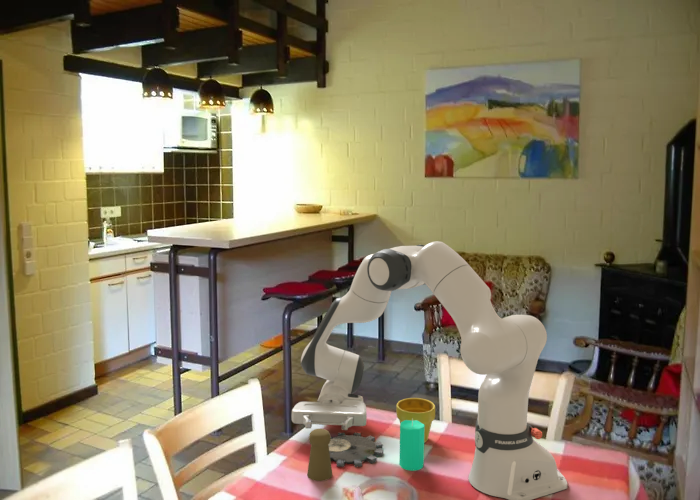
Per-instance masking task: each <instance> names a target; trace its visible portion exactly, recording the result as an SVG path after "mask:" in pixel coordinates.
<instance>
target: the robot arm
mask: <svg viewBox="0 0 700 500" xmlns="http://www.w3.org/2000/svg"><path fill="white" fill-rule="evenodd" d="M423 285H426V286H427V287H428V289H429V290H430V291H431V292H432V294H433V296H434V297H436V299H437V300H438V301H439V303H440V304H441V305H442V306H443V308H444V309H445V310H446V312H447V313H448V314H449V316H451V318H452V320H453V322H454V324H455V325H456V328H457V330H458V333H459V336H460V339H461V343H460V347H459V348H460V350H459V351H460V356H461V359H462V362H463V363H464V364H465V367H467V369H468V370H470V371H471V372H472V373H474V374H478V375H480V376H481V375H485V377H484V380H483V381H482V383H481V384H480V386H479V389H478V395H477V396H478V397H477V398H478V399H477V401H478V403H477V419H476V421H475V427H474V428H475V431H474V446H475V448H474V449H475V450H474V457H473V461H472V464H471V469H470V472H469V474H468V482H469V483H470V485H471V486H473V488H474V489H476V490H477V491H479V492H481V493H483V494H486V495H489V496H491V497H498V498H502V499H506V500H534V499H538V498H542V497H544V496H547V495H551V494H554V493H557V492H561V491H564V490H567V489H568V482H567V478H566V477H565V476H564V474H562V473H561V471H560V470H559V469H558V465H557V462H556V459H555V457H554V456H553V454H552V453H551V452H550V451H548V449H546V448H545V447H544V446H543V445H542V444H540V443H539V442H537V441H536V440H540V439H542V437H543V432H542V431H541V430H540V429H538V428H537V427H534V428H533V426H532V425H531V424H530V423H528V409H529V408H528V407H529V406H528V405H529V396H530V390H531V386H532V383H533V379H534V376H535V372H536V367H537V364H538V360H539V358H540V356H541V353H542V351H543V350H544V348H545V346H546V345H547V339H548V335H547V330H546V327H545V325H544V324H543V322H541V320H539V318H537V317H535V316H533V315H529V314H511V315H509V316H505V317H500V316H499V315H498V314H497V312H496V310H495V308H494V306H493V304H492V301H491V299H492V292H491V291H492V290H491V289H490V287H489V286H488V285H487V284H486V282H485V281H484V280H483V279H482V278H481V277H480V276H479V274H478V273H477V272H476V271H475V270H474V269H473V267H471V265H470V264H469V263H468V262H467V261H466V260H465V259H464V258H463V257H462V256H461V255H460V254H459V253H458V252H457V251H456V250H454V249H453V248H452V247H450V245H448V244H446V243H445V242H443V241H440V240H437V241H435V240H434V241H431V242H429V243H427V244H417V245H400V246H399V245H398V246H394V247H391V248H384V249H381V250H379V251H377V252H375V253H371V254H369V255H367V256H365V257H364V258H363V259H362V262H360V264H359V266H358V268H357V270H356V272H355V274H354V277H353V279H352V282H351V285H350V287H349V290H348V291H347V293H346V294H345V295H343V296H340V297H336V298H335V299H334V300H333V302H332V303H331V304H330V305H329V308H328V309H327V312H325V315H324V316H323V317H322V319H321V322H320V324H319V325H318V327H317V329H316V331H315V333H314V335H313V337H312V339H311V340H310V342H309V343H308V344H307V345H306V346H305V347H304V349H303V351H302V354H301V357H300V366H301V368H302V370H303V371H304V373H305V374H306V375H307V376H308V375H309V376H312V377H318V378H321V379H323V380H326V381H325V382H324V384H323V386H322V388H321V391H320V394H319V396H318V399H317V401H299V402H298V403H296V404H295V405H294V407H292V409H291V422H292V423H293V424H296V425H297V424H299V425H301V424H302V425H304V426H305V427H304V428H305V429H312V426H313V425H322V426H341V431H348V429H349V428H351V427H364V426H366V425H367V406H366V403H365V402H364V398H363V397H364V396H361V395H360V394H354V393H356V392H357V391H358V390H359V387H360V385H361V383H362V379H363V375H364V370H365V363H364V360H363V358H362V356H361V355H360V354H356V353H354V352H352V351H349V350H346V349H345V350H344V349H342V348H338V347H336V346H333V345H330V344H328V343H327V341H328V340H329V337H330V336H331V334H332V333H333V330H334V329H335V327H337V326H338V325H342V324H354V323H355V324H362V323H363V324H364V323H370V322H372V321H376V320H377V319H379V318H380V317H381V316H382V315H383V313H384V312H385V310H386V308H387V305H388V304H389V300H390V298H391V296H392V295H391V294H392V291H396V290H405V289H407V290H408V289H413V288H416V287H420V286H423ZM533 437H534V438H533Z"/></svg>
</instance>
